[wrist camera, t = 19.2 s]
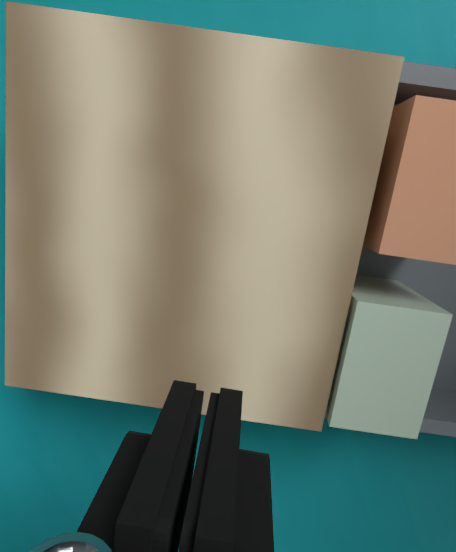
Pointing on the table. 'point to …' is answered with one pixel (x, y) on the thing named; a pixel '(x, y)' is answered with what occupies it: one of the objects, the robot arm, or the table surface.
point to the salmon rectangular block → (417, 184)
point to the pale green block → (386, 359)
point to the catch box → (426, 264)
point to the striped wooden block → (184, 209)
